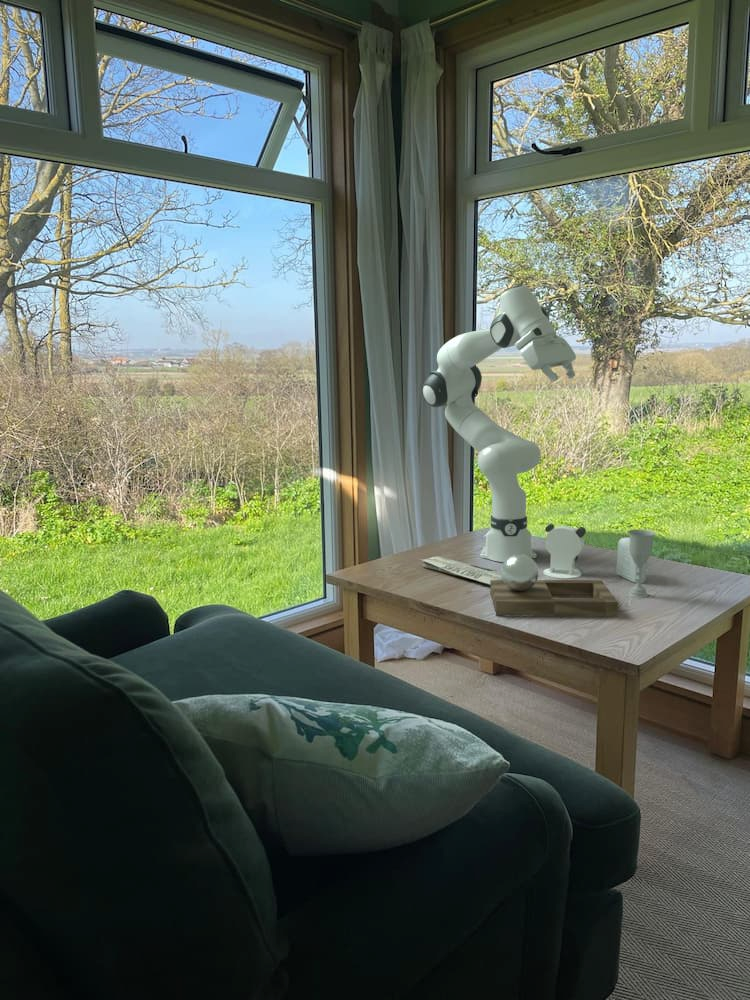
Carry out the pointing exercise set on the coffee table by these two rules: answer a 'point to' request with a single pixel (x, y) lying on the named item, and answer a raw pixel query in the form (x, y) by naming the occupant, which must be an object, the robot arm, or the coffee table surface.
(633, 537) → the chalice
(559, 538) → the panda figurine
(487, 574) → the newspaper
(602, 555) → the coffee table surface
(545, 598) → the brown slotted slab
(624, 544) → the white rounded block
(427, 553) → the coffee table surface
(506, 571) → the steel ball
